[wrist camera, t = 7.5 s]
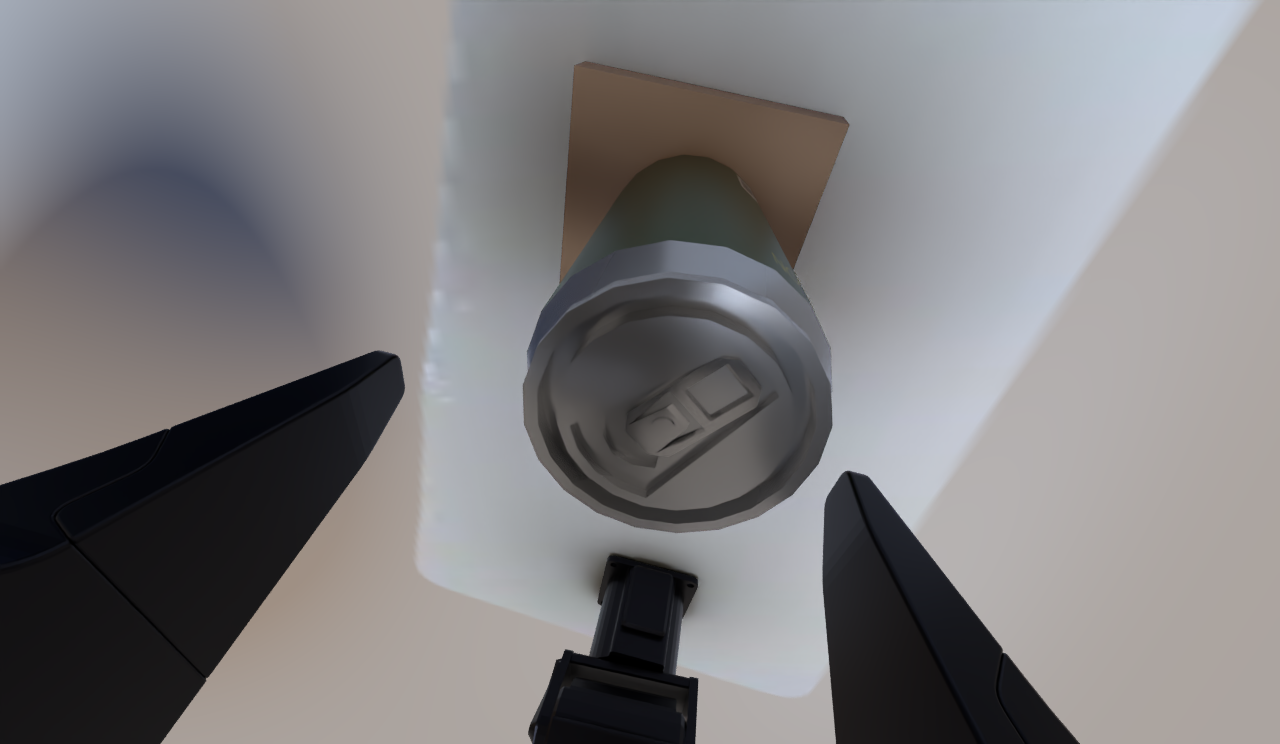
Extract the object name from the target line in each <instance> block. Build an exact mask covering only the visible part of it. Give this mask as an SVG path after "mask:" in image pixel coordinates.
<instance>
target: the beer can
mask: <svg viewBox="0 0 1280 744" xmlns="http://www.w3.org/2000/svg"><path fill="white" fill-rule="evenodd" d="M527 363H528V372H527V375H526V378H525V381H524V383H523V405H524V425H525V428H526V430H527V432H528V435H529V437H530V440H531V442H532V445H533V447H534V450H535V452H536V454H537V457H538V459H539V461H540V462H541V463H542V464H543V466H544V467H545V468H546V469H547V470H548V471H549V473H550V474H551V475H552V476H553V477H554V479H555V480H556V481H557V482H558V483H559V485H560V486H561V487H562V488H563V489H564V490H565V491H566V492H568V493H569V494H571V495H572V496H574V497H575V498H577V499H578V500H579V501H581V502H582V503H584V504H585V505H587V506H588V507H590V508H591V509H593V510H594V511H595V512H597V513H600V514H602V515H605V516H607V517H610V518H613V519H615V520H618V521H621V522H623V523H626V524H628V525H631V526H634V527H638V528H645V529H652V530H659V531H666V532H673V533H682V532H695V531H707V530H719V529H722V528H725V527H728V526H731V525H734V524H737V523H740V522H744V521H747V520H750V519H753V518H756V517H759V516H760V515H762V514H763V513H765V512H766V511H768V510H769V509H771V508H773V507H774V506H776V505H777V504H779V503H780V502H782V501H784V500H785V499H787V498H788V497H790V496H791V495H793V494H794V492H795V491H796V490H797V489H798V488H799V486H800V485H801V484H802V483H803V482H804V481H805V479H806V478H807V477H808V476H809V475H810V473H811V472H812V471H813V470H814V469H815V468H816V466H817V465H818V464H819V461H820V458H821V456H822V453H823V450H824V448H825V445H826V442H827V439H828V437H829V434H830V431H831V429H832V404H831V393H832V371H831V348H830V346H829V343H828V341H827V339H826V337H825V334H824V332H823V330H822V328H821V326H820V323H819V321H818V319H817V317H816V314H815V312H814V310H813V308H812V306H811V304H810V302H809V300H808V298H807V296H806V294H805V292H804V290H803V288H802V286H801V285H800V283H799V281H798V279H797V277H796V275H795V273H794V271H793V269H792V267H791V265H790V264H789V262H788V260H787V258H786V256H785V254H784V252H783V250H782V248H781V246H780V244H779V243H778V241H777V239H776V237H775V235H774V233H773V231H772V229H771V227H770V225H769V223H768V221H767V220H766V218H765V216H764V214H763V212H762V210H761V208H760V206H759V204H758V202H757V200H756V199H755V197H754V195H753V193H752V191H751V189H750V187H749V186H748V185H747V184H746V183H745V182H744V181H743V180H742V179H741V178H740V177H739V176H738V175H737V174H736V172H735V171H734V170H733V169H731V168H729V167H727V166H725V165H723V164H721V163H719V162H717V161H715V160H713V159H711V158H709V157H701V156H692V155H684V154H683V155H679V156H675V157H670V158H666V159H661V160H658V161H656V162H655V163H653V164H651V165H650V166H648V167H647V168H645V169H643V170H642V171H640V172H639V173H637V174H636V175H635V176H634V177H633V179H632V180H631V181H630V182H629V183H628V185H627V186H626V187H625V188H624V189H623V191H622V192H621V193H620V195H619V196H618V198H617V199H616V201H615V202H614V204H613V205H612V207H611V208H610V210H609V211H608V213H607V214H606V216H605V217H604V219H603V220H602V222H601V223H600V225H599V226H598V228H597V229H596V231H595V232H594V233H593V235H592V236H591V238H590V239H589V241H588V242H587V244H586V245H585V247H584V248H583V250H582V251H581V253H580V254H579V256H578V257H577V259H576V260H575V262H574V263H573V265H572V266H571V268H570V269H569V271H568V272H567V274H566V275H565V277H564V278H563V280H562V281H561V283H560V284H559V286H558V287H557V289H556V290H555V292H554V293H553V295H552V296H551V298H550V299H549V301H548V302H547V304H546V305H545V307H544V308H543V310H542V311H541V314H540V317H539V320H538V322H537V325H536V328H535V331H534V334H533V336H532V339H531V342H530V345H529V348H528V350H527Z"/></svg>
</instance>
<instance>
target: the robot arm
mask: <svg viewBox="0 0 1280 744" xmlns="http://www.w3.org/2000/svg"><path fill="white" fill-rule="evenodd" d="M404 390H405V384H404V378H403V372H402V366H401V361H400V358H399V357H398V356H397V355H395V354H392V353H388V352H384V351H374V352H371V353H368V354H365V355H363V356H360V357H358V358H355V359H352V360H349V361H347V362H344V363H341V364H339V365H336V366H333V367H331V368H328V369H325V370H323V371H320V372H317V373H315V374H312V375H309V376H307V377H304V378H301V379H299V380H296V381H293V382H291V383H288V384H285V385H283V386H280V387H277V388H275V389H272V390H269V391H267V392H264V393H261V394H259V395H256V396H253V397H251V398H248V399H245V400H242V401H240V402H237V403H234V404H232V405H229V406H226V407H224V408H221V409H218V410H216V411H213V412H210V413H207V414H205V415H202V416H199V417H197V418H194V419H192V420H189V421H186V422H183V423H181V424H178V425H175V426H173V427H171V429H170V430H169V429H164V430H162V431H159V432H157V433H154V434H151V435H149V436H146V437H143V438H141V439H138V440H135V441H132V442H129V443H126V444H124V445H121V446H118V447H116V448H113V449H110V450H107V451H104V452H102V453H98V454H95V455H92V456H89V457H86V458H83V459H80V460H77V461H74V462H71V463H68V464H65V465H62V466H59V467H56V468H53V469H50V470H46V471H44V472H40V473H37V474H34V475H31V476H28V477H24V478H21V479H18V480H15V481H12V482H9V483H5V484H2V485H0V744H160V743H161V742H162V741H163V740H164V738H165V737H166V735H167V734H168V733H169V731H170V730H171V729H172V727H173V726H174V724H175V723H176V722H177V720H178V719H179V718H180V716H181V715H182V714H183V712H184V711H185V709H186V708H187V706H188V705H189V704H190V702H191V701H192V700H193V698H194V697H195V696H196V694H197V693H198V692H199V690H200V689H201V687H202V686H203V685H204V683H205V682H206V678H208V677H209V675H210V674H211V673H212V672H213V670H214V669H215V667H216V666H217V665H218V663H219V662H220V661H221V659H222V658H223V657H224V655H225V654H226V652H227V651H228V650H229V648H230V647H231V646H232V644H233V643H234V641H235V640H236V639H237V637H238V636H239V635H240V633H241V632H242V630H243V629H244V627H245V626H246V625H247V623H248V622H249V621H250V619H251V618H252V617H253V615H254V614H255V613H256V611H257V610H258V608H259V607H260V606H261V604H262V603H263V601H264V600H265V599H266V597H267V596H268V595H269V593H270V592H271V591H272V589H273V588H274V586H275V585H276V584H277V582H278V581H279V580H280V578H281V577H282V575H283V574H284V573H285V571H286V570H287V569H288V567H289V566H290V564H291V563H292V561H293V560H294V559H295V558H296V556H297V555H298V553H299V552H300V551H301V549H302V548H303V547H304V545H305V544H306V542H307V541H308V540H309V538H310V537H311V535H312V534H313V533H314V531H315V530H316V528H317V527H318V526H319V525H320V523H321V522H322V520H323V519H324V518H325V516H326V515H327V514H328V512H329V511H330V509H331V508H332V507H333V505H334V504H335V503H336V501H337V500H338V498H339V497H340V495H341V494H342V493H343V492H344V490H345V489H346V487H347V486H348V485H349V483H350V482H351V481H352V479H353V478H354V476H355V475H356V474H357V472H358V471H359V470H360V468H361V467H362V465H363V464H364V462H365V461H366V459H367V458H368V456H369V454H370V453H371V451H372V450H373V448H374V446H375V445H376V443H377V441H378V439H379V437H380V436H381V434H382V432H383V430H384V429H385V427H386V425H387V423H388V422H389V420H390V418H391V416H392V415H393V413H394V411H395V409H396V408H397V406H398V404H399V402H400V400H401V399H402V397H403V394H404ZM697 588H698V579H696V578H695V577H692V576H688V575H685V574H681V573H677V572H674V571H670V570H666V569H662V568H659V567H655V566H651V565H647V564H644V563H640V562H636V561H633V560H629V559H625V558H621V557H618V556H609V557H608V560H607V564H606V568H605V572H604V576H603V580H602V584H601V588H600V593H599V597H598V601H597V602H598V604H600V605H601V606H602V607H601V611H600V615H599V619H598V623H597V627H596V631H595V635H594V639H593V643H592V647H591V651H590V655H589V656H586V655H582V654H577V653H574V652H573V651H571V650H565V651H564V654H563V657H562V659H558V660H556V663H555V667H554V670H553V673H552V676H551V679H550V683H549V685H548V688H547V690H546V693H545V695H544V697H543V699H542V701H541V703H540V705H539V707H538V709H537V711H536V714H535V715H534V718H533V720H532V722H531V724H530V727H529V731H528V735H529V737H530V739H531V741H532V744H695V737H696V716H697V695H698V678H694V677H690V678H686V677H682V676H677V675H675V674H676V666H677V657H678V649H679V640H680V632H681V623H682V619H683V617H684V615H685V613H686V611H687V608H688V606H689V604H690V602H691V600H692V598H693V596H694V594H695V592H696V590H697ZM823 595H824V607H825V619H826V630H827V642H828V654H829V665H830V677H831V689H832V700H833V712H834V723H835V735H836V744H1080V743H1079V742H1078V741H1077V740H1076V738H1075V737H1074V736H1073V735H1072V734H1071V733H1070V731H1069V730H1068V729H1067V728H1066V727H1065V726H1064V724H1063V723H1062V722H1061V721H1060V720H1059V719H1058V718H1057V716H1056V715H1055V714H1054V713H1053V712H1052V710H1051V709H1050V708H1049V707H1048V705H1047V704H1046V703H1045V702H1044V700H1043V699H1042V698H1041V697H1040V695H1039V694H1038V693H1037V692H1036V690H1035V689H1034V688H1033V687H1032V685H1031V684H1030V683H1029V682H1028V680H1027V679H1026V678H1025V677H1024V675H1023V674H1022V673H1021V672H1020V670H1019V669H1018V668H1017V666H1016V665H1015V664H1014V663H1013V661H1012V660H1011V659H1010V657H1009V656H1008V655H1007V654H1006V653H1002V652H1003V650H1002V647H1001V646H1000V645H999V643H998V642H997V641H996V640H995V638H994V637H993V636H992V634H991V633H990V632H989V631H988V629H987V628H986V627H985V626H984V624H983V623H982V622H981V620H980V619H979V618H978V616H977V615H976V614H975V613H974V612H973V610H972V609H971V608H970V606H969V605H968V604H967V602H966V601H965V600H964V598H963V597H962V596H961V595H960V594H959V592H958V591H957V590H956V588H955V587H954V586H953V584H952V583H951V582H950V581H949V579H948V578H947V577H946V575H945V574H944V573H943V572H942V570H941V569H940V568H939V566H938V565H937V564H936V562H935V561H934V560H933V559H932V558H931V556H930V555H929V553H928V552H927V551H926V550H925V549H924V547H923V546H922V545H921V543H920V542H919V541H918V539H917V538H916V537H915V536H914V534H913V533H912V532H911V530H910V529H909V528H908V527H907V525H906V524H905V523H904V521H903V520H902V519H901V518H900V516H899V515H898V514H897V512H896V511H895V510H894V509H893V507H892V506H891V505H890V503H889V502H888V501H887V500H886V498H885V497H884V496H883V494H882V493H881V492H880V491H879V489H878V488H877V487H876V485H875V484H874V483H873V482H872V480H871V479H870V478H869V477H868V476H866V475H864V474H860V473H856V472H852V471H845V472H844V473H843V474H842V475H841V476H840V478H839V479H838V481H837V482H836V484H835V485H834V487H833V488H832V490H831V491H830V493H829V494H828V496H827V498H826V502H825V509H824V540H823Z"/></svg>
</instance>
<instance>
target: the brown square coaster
mask: <svg viewBox="0 0 1280 744" xmlns="http://www.w3.org/2000/svg"><path fill="white" fill-rule="evenodd" d="M848 127H849V123H848V122H847V121H846V120H845V118H844V117H841V116H836V115H831V114H827V113H822V112H818V111H813V110H808V109H804V108H799V107H794V106H790V105H785V104H781V103H776V102H771V101H767V100H762V99H757V98H753V97H748V96H743V95H739V94H734V93H730V92H725V91H720V90H716V89H711V88H706V87H702V86H697V85H692V84H688V83H683V82H679V81H674V80H669V79H665V78H660V77H655V76H651V75H646V74H642V73H637V72H632V71H628V70H623V69H618V68H614V67H609V66H604V65H600V64H595V63H591V62H586V61H585V62H582V63H579V64H577V65H574V79H573V94H572V108H571V123H570V138H569V153H568V168H567V182H566V197H565V212H564V227H563V242H562V256H561V271H560V283H561V281H562V280H563V278H564V277H565V275H566V274H567V272H568V271H569V269H570V268H571V266H572V265H573V263H574V262H575V260H576V259H577V257H578V256H579V254H580V253H581V251H582V250H583V248H584V247H585V245H586V244H587V242H588V241H589V239H590V238H591V236H592V235H593V233H594V232H595V231H596V229H597V228H598V226H599V225H600V223H601V222H602V220H603V219H604V217H605V216H606V214H607V213H608V211H609V210H610V208H611V207H612V205H613V204H614V202H615V201H616V199H617V198H618V196H619V195H620V193H621V192H622V191H623V189H624V188H625V187H626V186H627V185H628V183H629V182H630V181H631V180H632V179H633V177H634V176H635V175H636V174H637V173H639V172H640V171H642V170H643V169H645V168H647V167H648V166H650V165H651V164H653V163H655V162H656V161H658V160H661V159H666V158H670V157H675V156H679V155H683V154H684V155H692V156H701V157H709V158H711V159H713V160H715V161H717V162H719V163H721V164H723V165H725V166H727V167H729V168H731V169H733V170H734V171H735V172H736V174H737V175H738V176H739V177H740V178H741V179H742V180H743V181H744V182H745V183H746V184H747V185H748V186H749V187H750V189H751V191H752V193H753V195H754V197H755V199H756V200H757V202H758V204H759V206H760V208H761V210H762V212H763V214H764V216H765V218H766V220H767V221H768V223H769V225H770V227H771V229H772V231H773V233H774V235H775V237H776V239H777V241H778V243H779V244H780V246H781V248H782V250H783V252H784V254H785V256H786V258H787V260H788V262H789V264H790V265H791V267H792V269H794V266H795V263H796V261H797V258H798V256H799V253H800V251H801V248H802V245H803V243H804V240H805V238H806V235H807V233H808V230H809V227H810V225H811V222H812V220H813V217H814V215H815V212H816V210H817V207H818V204H819V202H820V199H821V197H822V194H823V192H824V189H825V186H826V184H827V181H828V179H829V176H830V174H831V171H832V168H833V166H834V163H835V161H836V158H837V156H838V153H839V150H840V148H841V145H842V143H843V140H844V138H845V135H846V132H847V130H848Z"/></svg>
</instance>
